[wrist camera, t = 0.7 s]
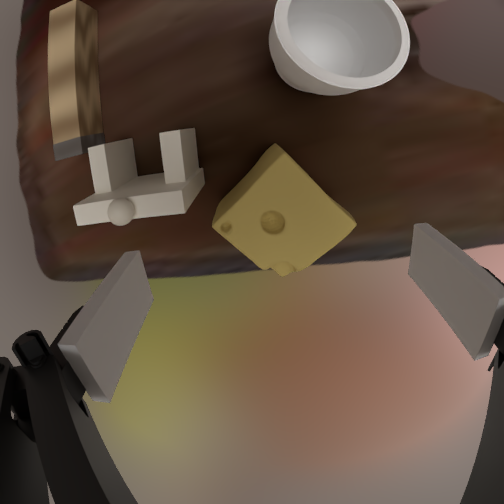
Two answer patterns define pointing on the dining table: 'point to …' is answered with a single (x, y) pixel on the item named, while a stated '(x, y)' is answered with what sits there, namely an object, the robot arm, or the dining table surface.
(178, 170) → the white u-channel bracket
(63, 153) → the rail
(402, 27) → the white cup
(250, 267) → the dining table surface
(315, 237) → the cheese
